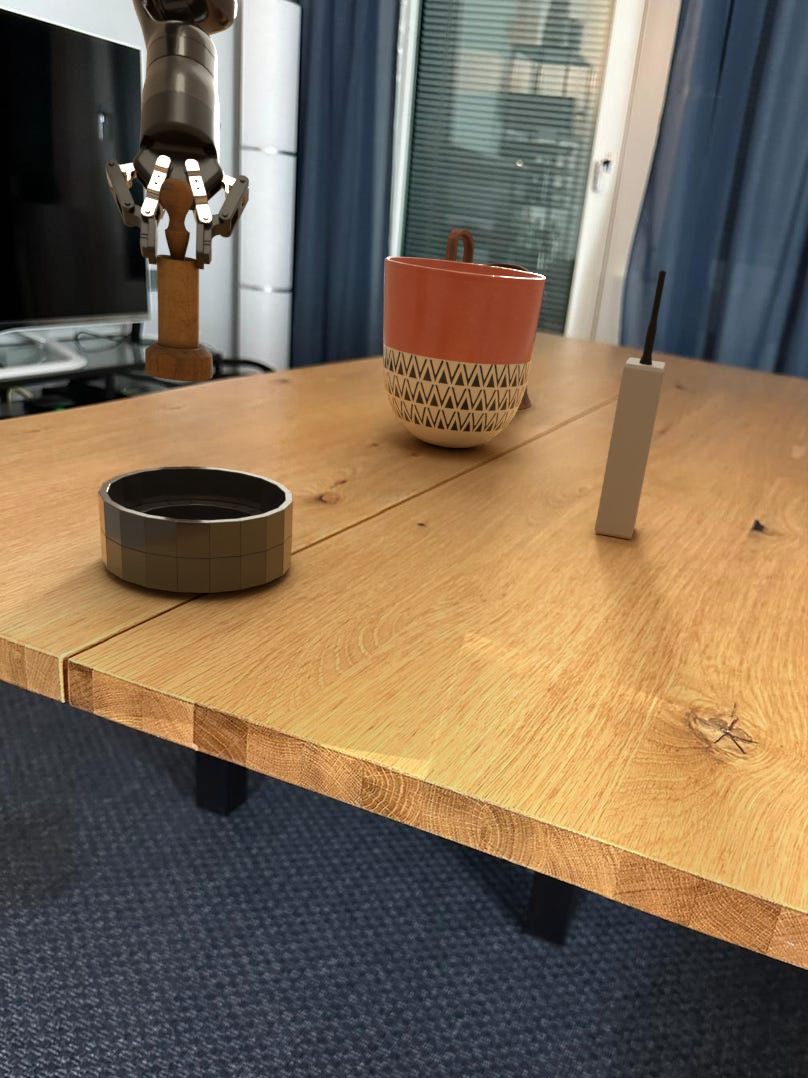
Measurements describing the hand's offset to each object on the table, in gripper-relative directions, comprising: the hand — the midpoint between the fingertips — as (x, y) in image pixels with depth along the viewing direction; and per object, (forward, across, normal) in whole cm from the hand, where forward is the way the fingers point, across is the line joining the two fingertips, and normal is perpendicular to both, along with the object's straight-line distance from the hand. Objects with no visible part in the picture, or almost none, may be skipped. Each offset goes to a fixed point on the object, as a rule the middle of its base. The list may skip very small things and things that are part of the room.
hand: (176, 260), depth 88 cm
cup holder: (-20, +42, +49) cm, 67 cm away
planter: (+2, +32, +28) cm, 42 cm away
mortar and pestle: (+7, 0, +9) cm, 11 cm away
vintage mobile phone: (+25, +43, +4) cm, 50 cm away
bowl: (+33, +3, -5) cm, 34 cm away
